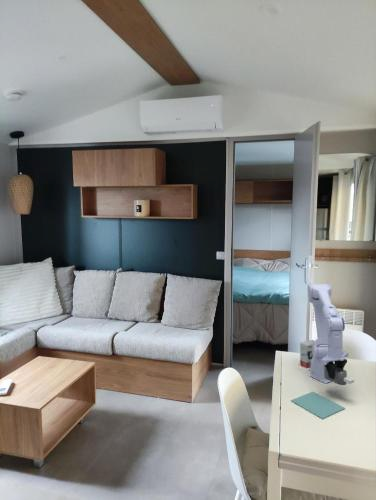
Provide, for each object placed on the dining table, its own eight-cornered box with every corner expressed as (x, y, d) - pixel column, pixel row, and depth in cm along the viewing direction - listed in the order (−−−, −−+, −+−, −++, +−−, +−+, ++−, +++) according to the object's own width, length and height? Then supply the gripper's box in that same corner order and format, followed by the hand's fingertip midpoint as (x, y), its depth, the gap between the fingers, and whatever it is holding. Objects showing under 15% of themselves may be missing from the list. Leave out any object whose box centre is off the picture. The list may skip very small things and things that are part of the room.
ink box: (306, 368, 180) (306, 345, 179) (299, 364, 184) (299, 342, 183) (320, 364, 183) (319, 342, 182) (313, 361, 188) (312, 339, 187)
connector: (322, 376, 156) (322, 365, 155) (328, 374, 158) (328, 363, 157) (348, 389, 145) (348, 377, 144) (355, 386, 147) (355, 374, 146)
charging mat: (290, 401, 150) (290, 400, 150) (312, 392, 157) (312, 391, 157) (322, 419, 136) (322, 418, 136) (345, 408, 143) (345, 407, 143)
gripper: (331, 352, 144) (331, 385, 145) (354, 344, 151) (354, 375, 152) (317, 347, 150) (317, 378, 151) (340, 339, 157) (340, 369, 159)
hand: (335, 376), depth 152 cm, fingers closed on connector, 4 cm apart
